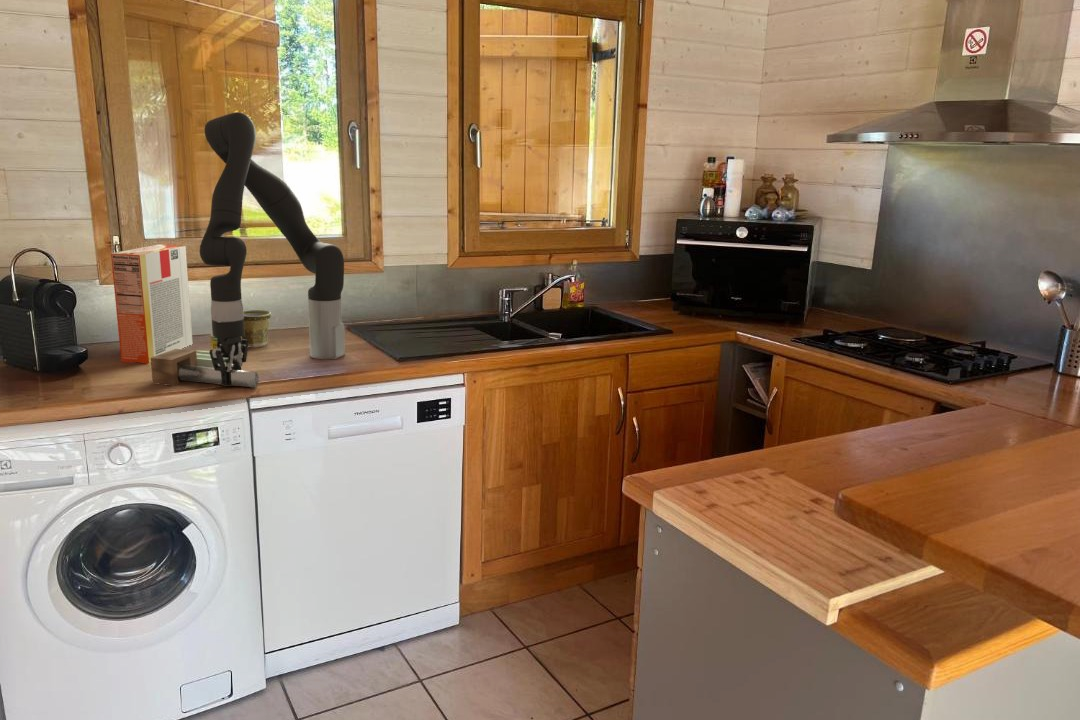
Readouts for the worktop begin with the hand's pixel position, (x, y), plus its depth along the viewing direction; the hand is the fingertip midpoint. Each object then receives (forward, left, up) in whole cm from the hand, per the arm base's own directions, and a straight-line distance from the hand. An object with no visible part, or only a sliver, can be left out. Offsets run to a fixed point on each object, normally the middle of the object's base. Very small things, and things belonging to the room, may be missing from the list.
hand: (231, 382), depth 199 cm
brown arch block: (+16, 0, -1) cm, 16 cm away
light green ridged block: (+14, -11, -1) cm, 18 cm away
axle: (+4, 0, -1) cm, 4 cm away
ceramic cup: (+18, -41, -1) cm, 45 cm away
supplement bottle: (+18, -24, -1) cm, 30 cm away
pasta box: (+37, -22, -1) cm, 43 cm away
